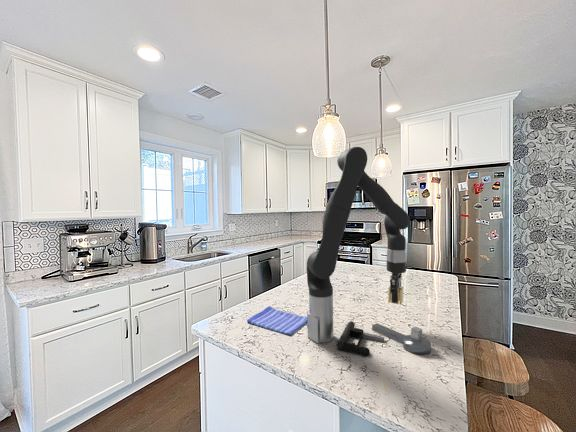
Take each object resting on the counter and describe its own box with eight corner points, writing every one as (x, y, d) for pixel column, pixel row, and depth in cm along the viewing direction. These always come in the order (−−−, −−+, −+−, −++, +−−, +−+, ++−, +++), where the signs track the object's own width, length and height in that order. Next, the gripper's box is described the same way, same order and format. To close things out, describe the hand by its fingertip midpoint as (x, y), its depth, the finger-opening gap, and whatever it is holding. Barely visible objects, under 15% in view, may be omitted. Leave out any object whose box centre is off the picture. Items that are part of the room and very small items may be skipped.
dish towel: (269, 310, 132) (268, 305, 132) (311, 321, 119) (311, 315, 119) (245, 323, 118) (245, 317, 118) (290, 337, 105) (290, 330, 105)
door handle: (385, 328, 106) (345, 319, 112) (380, 354, 88) (332, 341, 94) (385, 336, 106) (345, 326, 113) (379, 364, 88) (332, 350, 95)
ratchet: (422, 358, 88) (422, 337, 88) (367, 332, 107) (367, 315, 107) (436, 349, 94) (436, 329, 93) (381, 326, 112) (381, 309, 112)
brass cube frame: (401, 304, 107) (401, 290, 107) (388, 302, 110) (388, 288, 110) (403, 300, 112) (403, 286, 112) (390, 298, 114) (390, 285, 114)
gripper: (389, 256, 118) (389, 294, 119) (383, 262, 106) (382, 304, 107) (408, 257, 114) (407, 296, 115) (403, 264, 102) (403, 307, 103)
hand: (395, 300), depth 111 cm, fingers closed on brass cube frame, 5 cm apart
